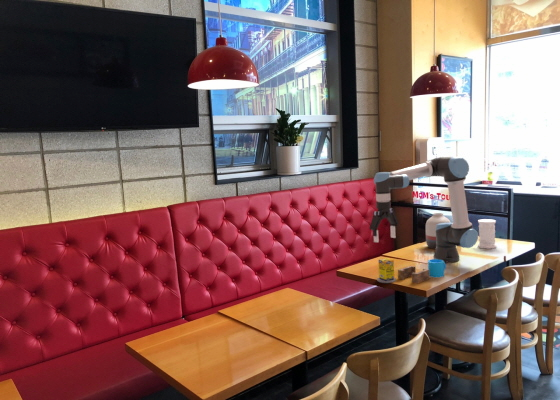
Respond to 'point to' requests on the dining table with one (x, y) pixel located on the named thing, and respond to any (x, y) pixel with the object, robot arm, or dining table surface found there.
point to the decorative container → (487, 233)
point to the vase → (434, 228)
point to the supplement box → (386, 269)
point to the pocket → (413, 274)
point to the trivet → (386, 281)
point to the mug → (436, 267)
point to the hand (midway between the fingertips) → (384, 239)
